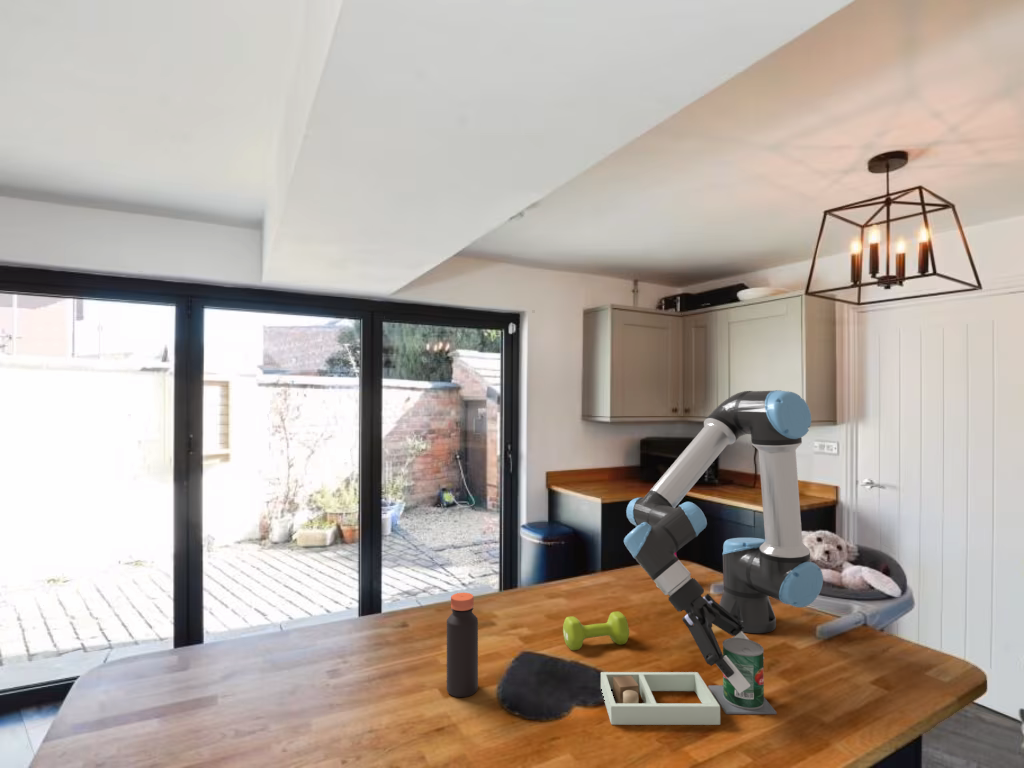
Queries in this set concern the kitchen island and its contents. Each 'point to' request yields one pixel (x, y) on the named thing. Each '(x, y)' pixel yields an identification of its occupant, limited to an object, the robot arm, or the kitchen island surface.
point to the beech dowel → (630, 696)
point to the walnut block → (624, 687)
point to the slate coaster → (731, 709)
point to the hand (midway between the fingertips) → (752, 675)
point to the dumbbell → (595, 630)
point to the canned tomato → (745, 673)
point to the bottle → (462, 647)
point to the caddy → (661, 711)
